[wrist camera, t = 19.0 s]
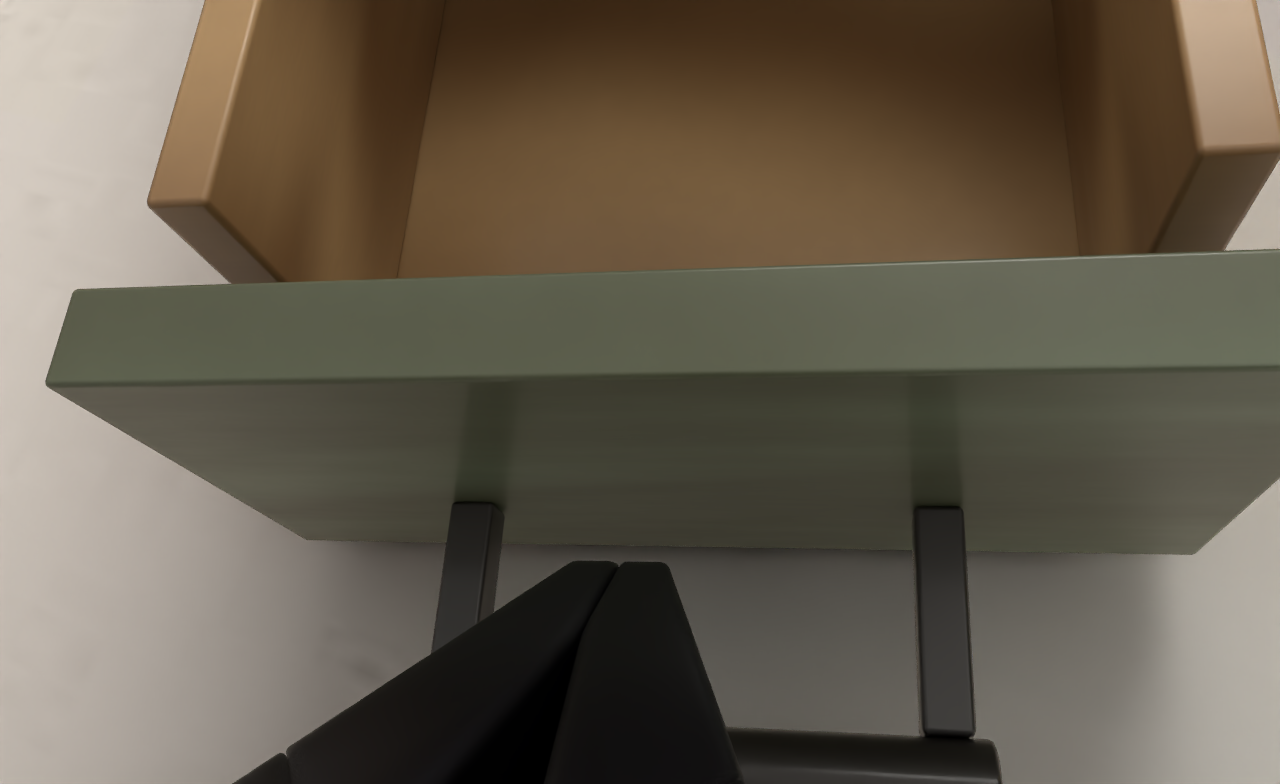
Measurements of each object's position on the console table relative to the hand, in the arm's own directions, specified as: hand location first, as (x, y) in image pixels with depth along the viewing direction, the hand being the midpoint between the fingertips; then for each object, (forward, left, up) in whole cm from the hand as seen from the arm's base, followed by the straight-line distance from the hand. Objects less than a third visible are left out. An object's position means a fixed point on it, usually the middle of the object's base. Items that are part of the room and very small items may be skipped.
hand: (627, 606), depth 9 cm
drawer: (+6, +5, -6) cm, 9 cm away
